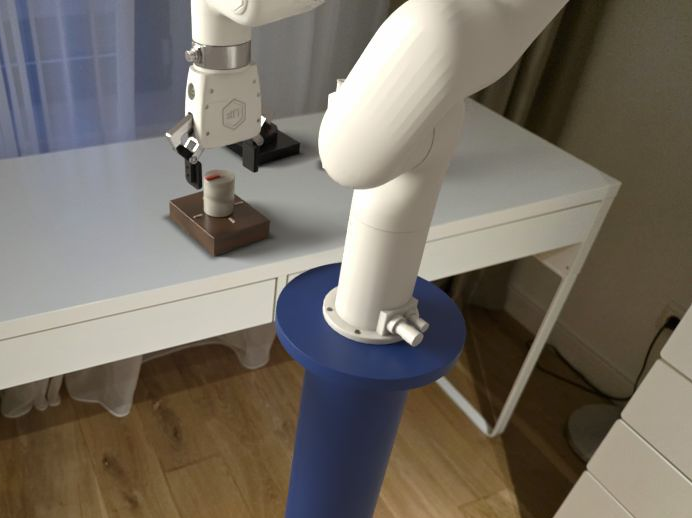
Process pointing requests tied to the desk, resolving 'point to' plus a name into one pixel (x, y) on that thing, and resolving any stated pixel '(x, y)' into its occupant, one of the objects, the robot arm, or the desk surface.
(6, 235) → the desk surface
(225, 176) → the knob
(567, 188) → the desk surface
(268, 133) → the button box
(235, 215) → the panel
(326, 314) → the robot arm
